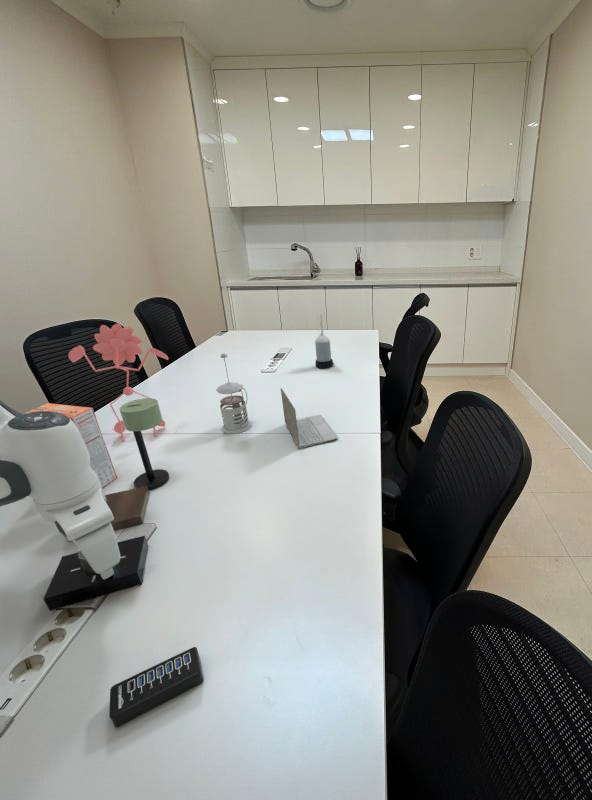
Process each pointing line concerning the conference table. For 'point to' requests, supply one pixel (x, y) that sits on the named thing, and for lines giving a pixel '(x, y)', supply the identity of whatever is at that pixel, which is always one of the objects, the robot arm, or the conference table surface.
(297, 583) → the conference table surface
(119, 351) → the figurine
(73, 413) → the cracker box
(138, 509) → the brown green button box
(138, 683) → the multiport hub
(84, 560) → the dimmer knob
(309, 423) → the laptop
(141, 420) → the desk lamp
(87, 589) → the dimmer panel
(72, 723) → the conference table surface
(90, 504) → the robot arm
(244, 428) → the french press
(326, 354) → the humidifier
